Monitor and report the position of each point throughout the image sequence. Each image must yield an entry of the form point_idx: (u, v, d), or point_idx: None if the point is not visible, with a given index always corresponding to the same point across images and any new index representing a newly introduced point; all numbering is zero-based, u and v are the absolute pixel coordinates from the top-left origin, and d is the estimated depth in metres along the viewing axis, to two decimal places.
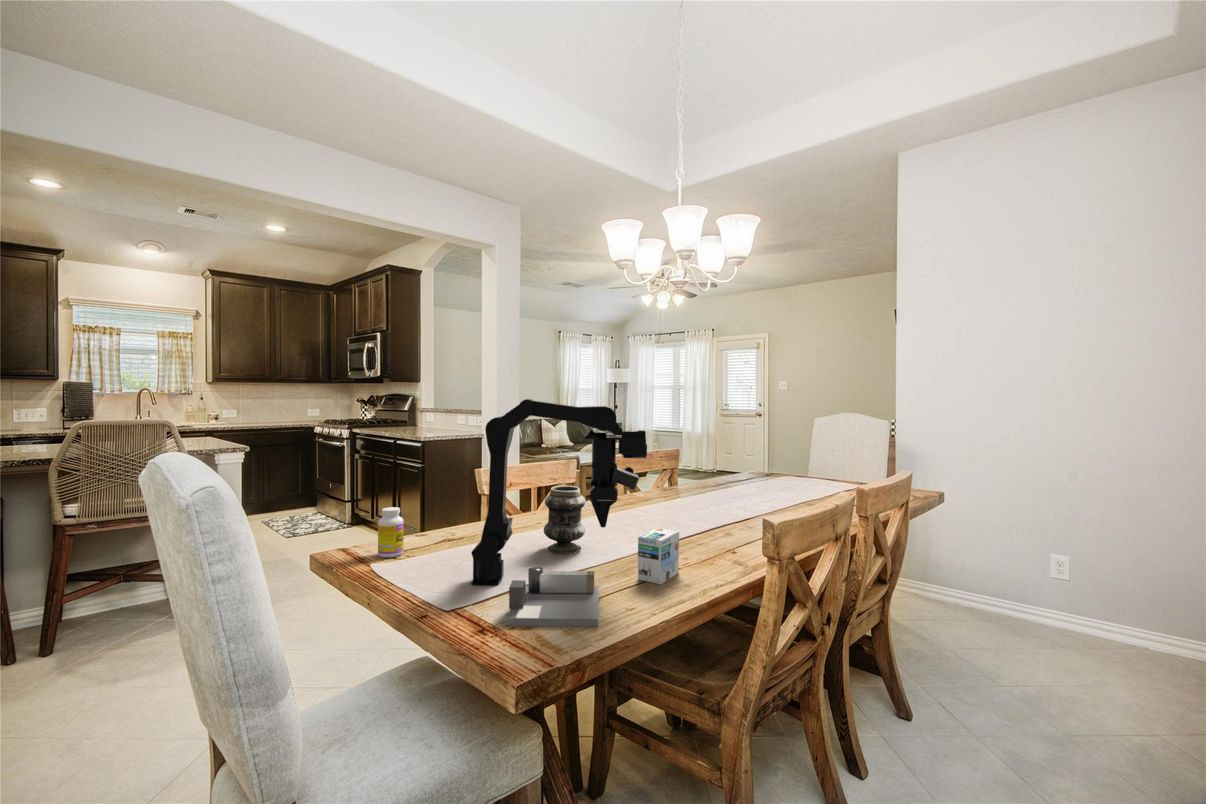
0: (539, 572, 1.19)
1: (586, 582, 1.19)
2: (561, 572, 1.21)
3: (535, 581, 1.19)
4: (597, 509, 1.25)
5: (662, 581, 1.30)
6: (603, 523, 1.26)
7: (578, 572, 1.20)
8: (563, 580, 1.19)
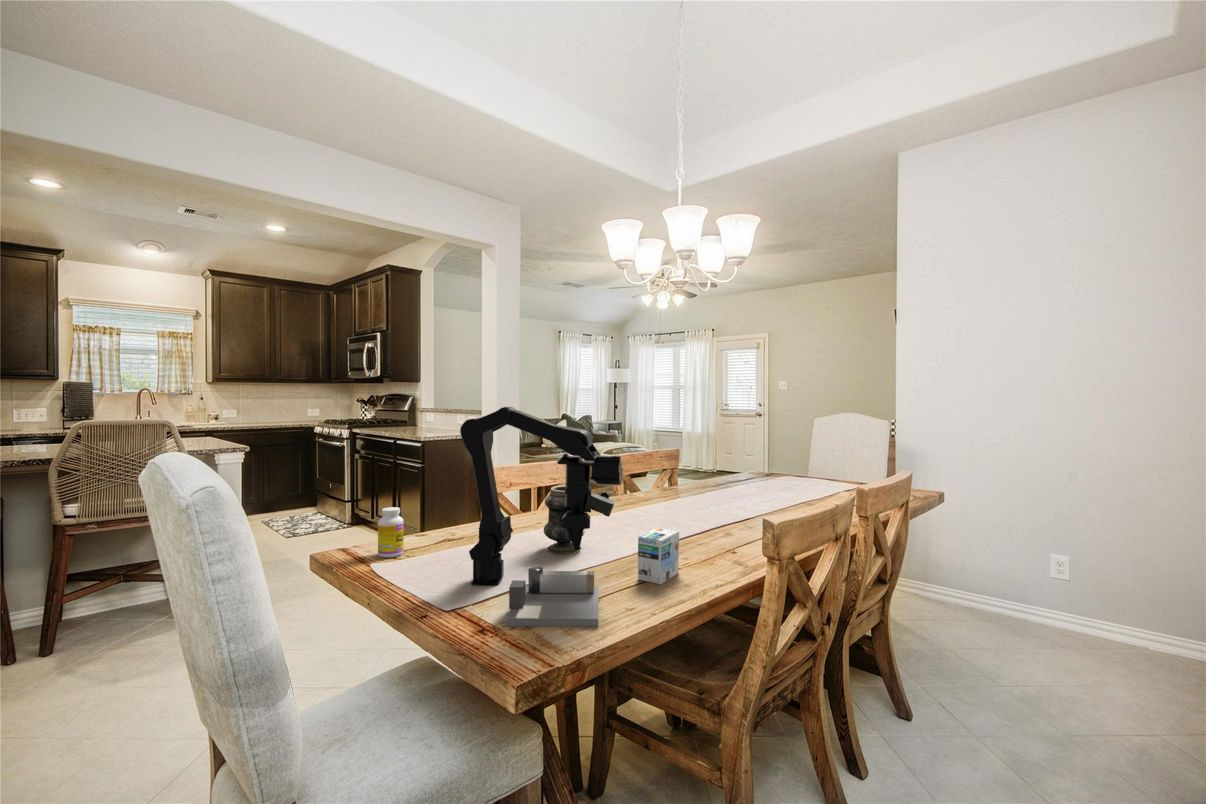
0: (539, 572, 1.19)
1: (586, 582, 1.19)
2: (561, 572, 1.21)
3: (535, 581, 1.19)
4: (571, 532, 1.26)
5: (662, 581, 1.30)
6: (577, 545, 1.27)
7: (578, 572, 1.20)
8: (563, 580, 1.19)
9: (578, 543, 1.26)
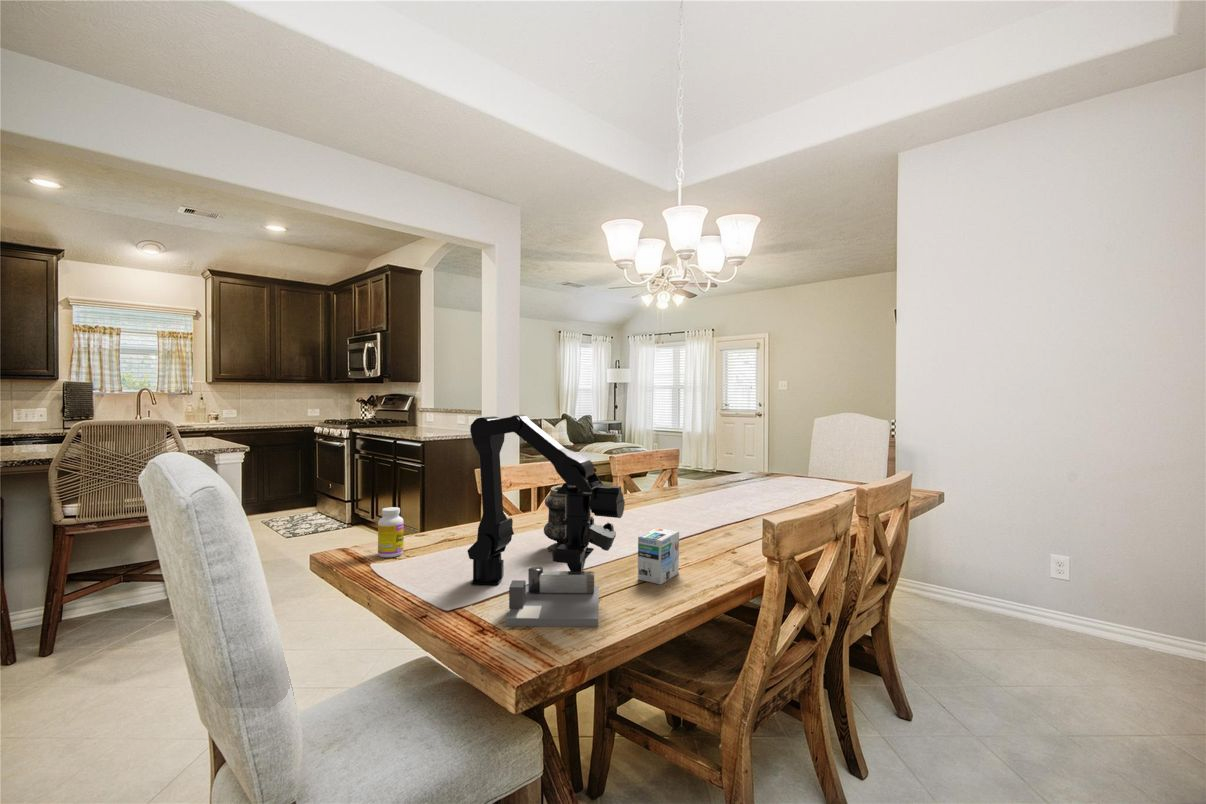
0: (539, 572, 1.19)
1: (586, 582, 1.19)
2: (561, 572, 1.21)
3: (535, 581, 1.19)
4: (570, 564, 1.22)
5: (662, 581, 1.30)
6: None
7: (578, 573, 1.20)
8: (563, 580, 1.19)
9: None
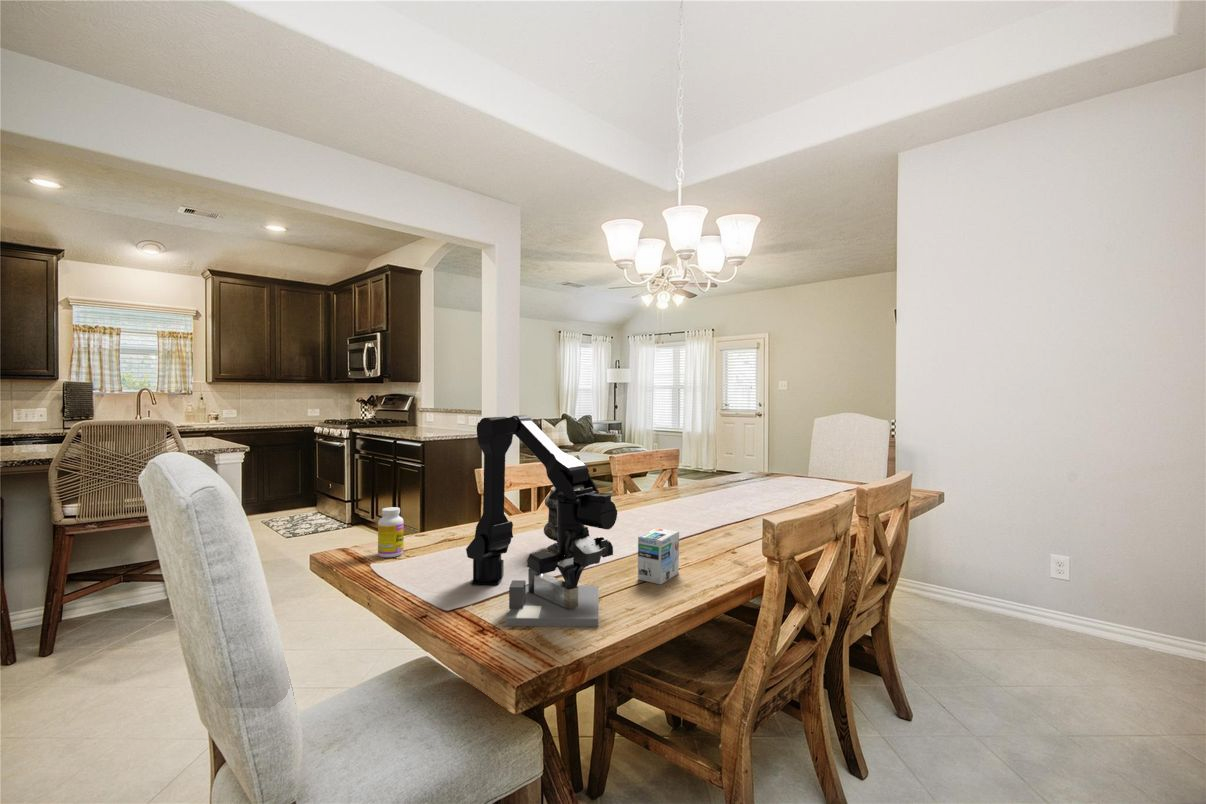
0: (533, 572, 1.19)
1: (564, 595, 1.11)
2: (552, 579, 1.16)
3: (530, 580, 1.19)
4: (562, 573, 1.16)
5: (662, 581, 1.30)
6: None
7: (562, 584, 1.13)
8: (548, 586, 1.15)
9: None
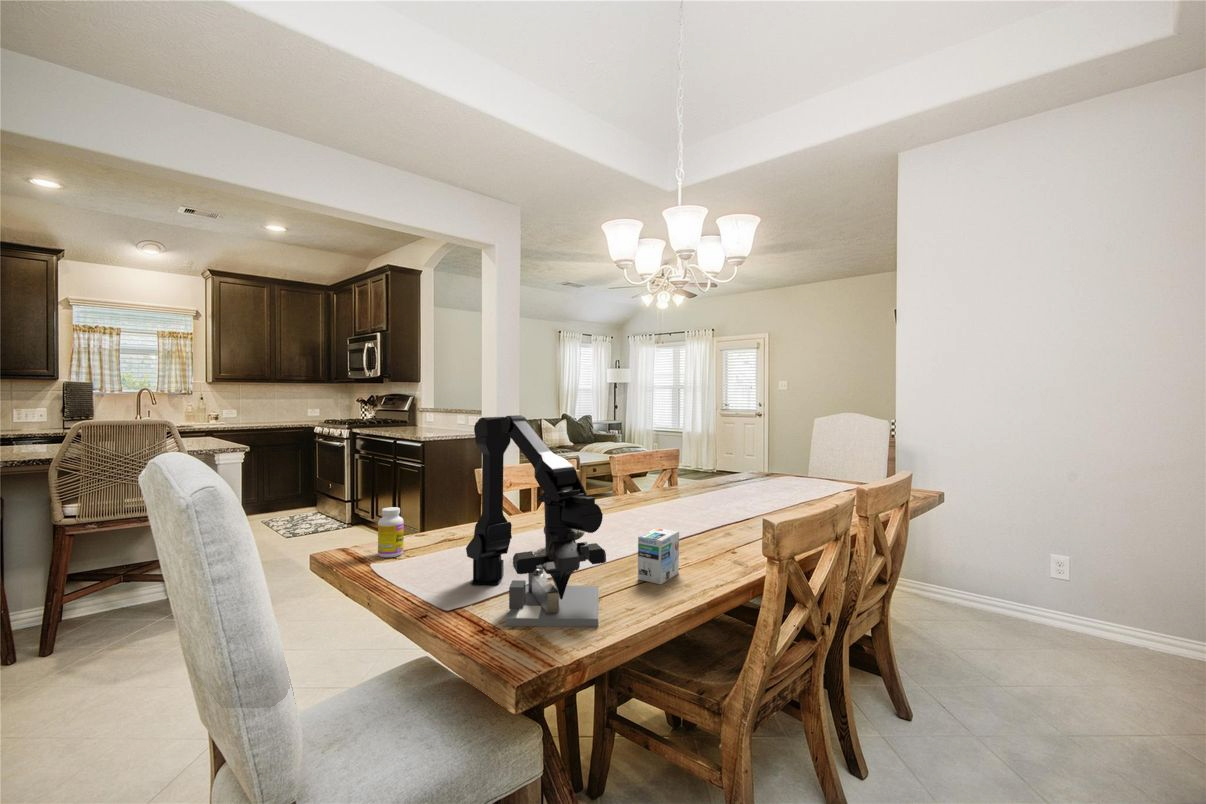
0: None
1: (544, 599, 1.09)
2: (543, 580, 1.15)
3: (529, 580, 1.20)
4: (552, 576, 1.14)
5: (662, 581, 1.30)
6: None
7: (548, 587, 1.12)
8: (538, 588, 1.14)
9: (558, 591, 1.13)
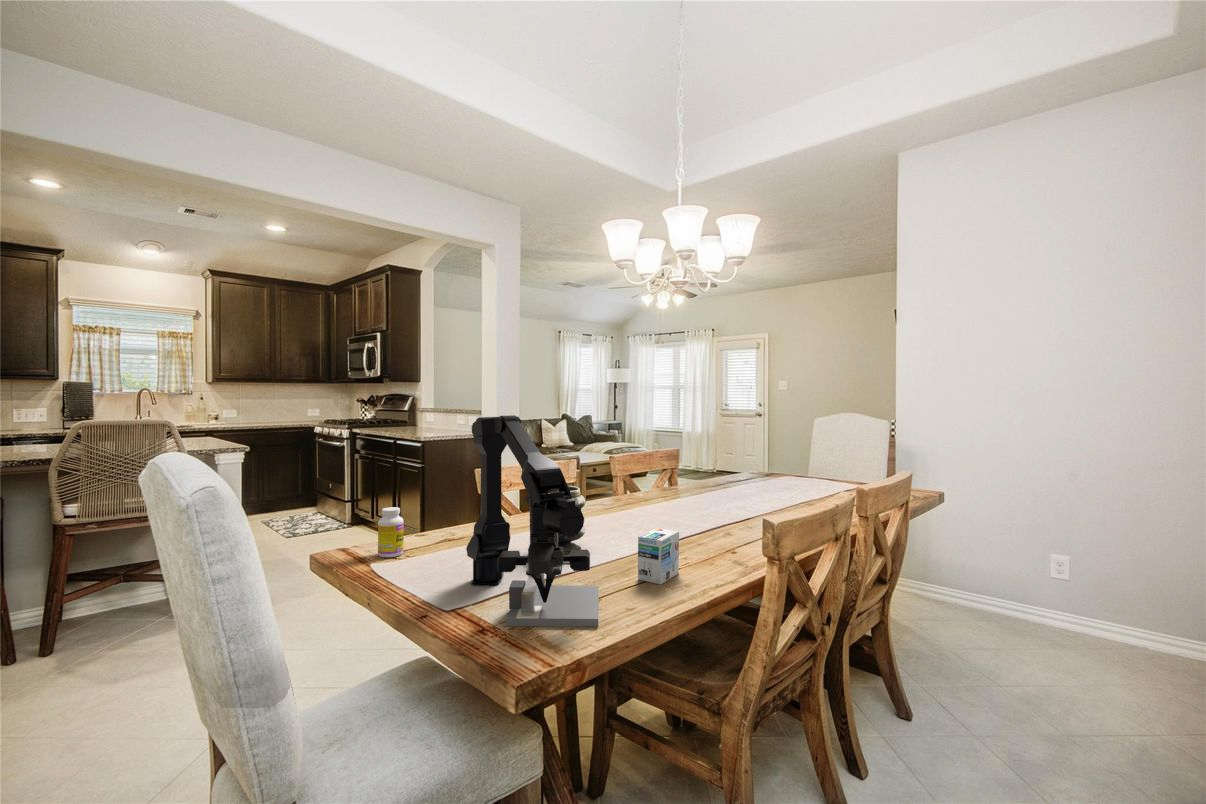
0: None
1: None
2: (533, 581, 1.15)
3: None
4: None
5: (662, 581, 1.30)
6: None
7: (529, 588, 1.11)
8: None
9: None
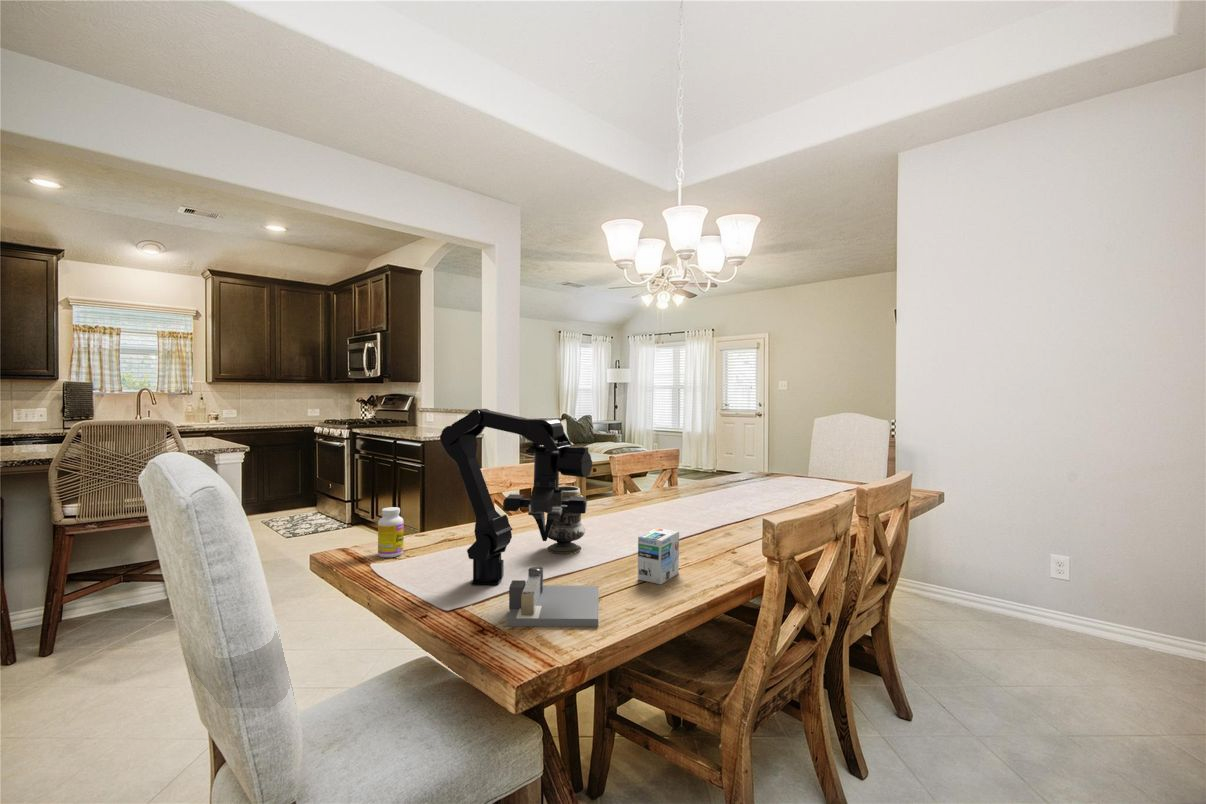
0: (529, 571, 1.19)
1: None
2: (533, 581, 1.15)
3: None
4: None
5: (662, 581, 1.30)
6: None
7: (529, 588, 1.11)
8: None
9: None
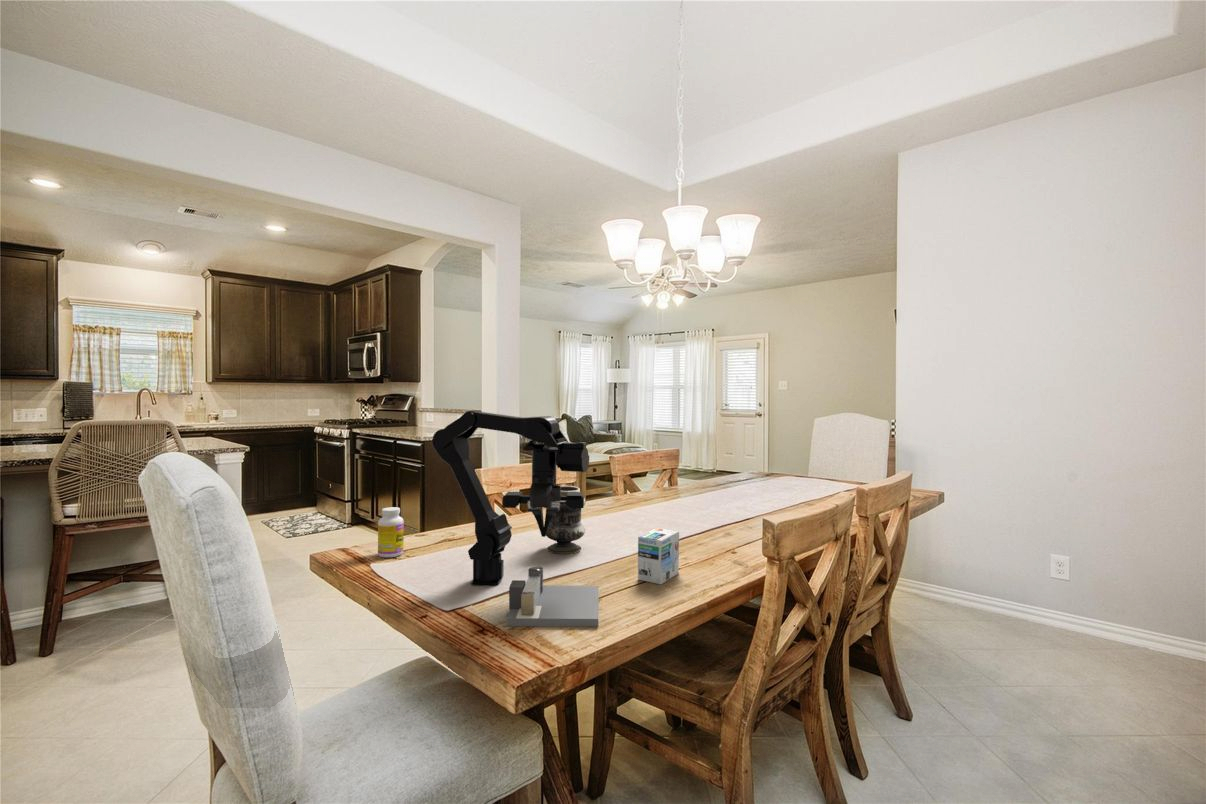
0: (529, 571, 1.19)
1: None
2: (533, 581, 1.15)
3: None
4: None
5: (662, 581, 1.30)
6: (540, 531, 1.27)
7: (529, 588, 1.11)
8: None
9: None
